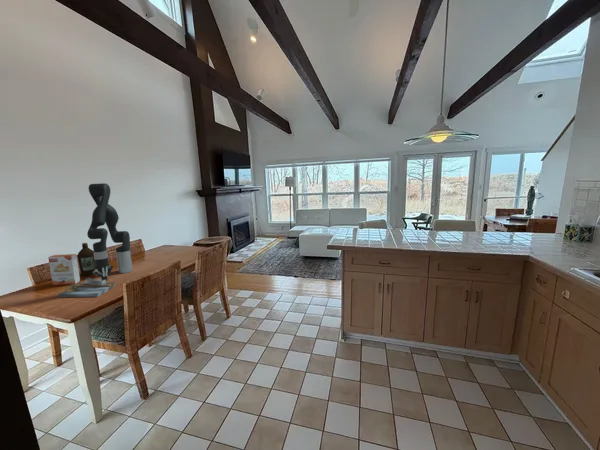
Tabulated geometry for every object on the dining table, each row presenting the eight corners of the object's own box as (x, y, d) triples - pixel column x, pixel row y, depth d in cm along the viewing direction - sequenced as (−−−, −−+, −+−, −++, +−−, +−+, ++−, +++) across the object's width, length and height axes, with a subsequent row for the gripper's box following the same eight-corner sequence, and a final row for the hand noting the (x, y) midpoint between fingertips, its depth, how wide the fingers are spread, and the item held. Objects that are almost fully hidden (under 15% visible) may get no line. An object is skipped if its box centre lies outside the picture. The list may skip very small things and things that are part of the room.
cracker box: (52, 285, 177) (47, 256, 173) (58, 282, 183) (54, 254, 179) (75, 284, 179) (70, 255, 176) (80, 281, 185) (76, 253, 182)
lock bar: (84, 284, 171) (83, 279, 171) (88, 282, 174) (88, 277, 174) (102, 285, 169) (101, 280, 169) (106, 283, 172) (105, 278, 172)
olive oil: (79, 273, 200) (75, 243, 196) (96, 270, 207) (92, 241, 203) (80, 277, 192) (76, 245, 188) (98, 274, 200) (94, 243, 196)
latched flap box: (80, 286, 176) (79, 278, 175) (115, 285, 177) (115, 278, 176) (58, 297, 159) (57, 289, 158) (97, 296, 160) (96, 288, 159)
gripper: (106, 254, 179) (110, 277, 182) (86, 259, 166) (90, 284, 169) (114, 255, 177) (118, 278, 180) (95, 260, 164) (99, 285, 167)
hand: (104, 281), depth 175 cm, fingers closed
